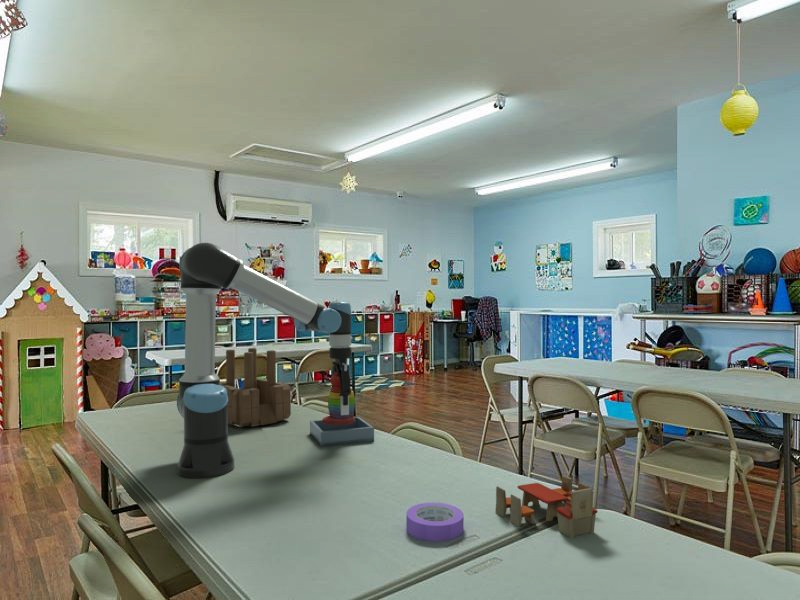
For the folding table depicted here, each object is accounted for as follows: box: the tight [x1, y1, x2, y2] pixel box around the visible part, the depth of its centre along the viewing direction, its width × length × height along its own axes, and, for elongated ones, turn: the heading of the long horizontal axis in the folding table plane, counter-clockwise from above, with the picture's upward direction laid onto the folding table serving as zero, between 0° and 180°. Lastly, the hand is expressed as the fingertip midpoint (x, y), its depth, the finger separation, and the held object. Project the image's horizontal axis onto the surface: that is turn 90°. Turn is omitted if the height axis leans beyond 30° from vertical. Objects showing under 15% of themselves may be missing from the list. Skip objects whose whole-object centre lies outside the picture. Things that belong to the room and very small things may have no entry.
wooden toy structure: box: [220, 347, 292, 428], centre depth 217 cm, size 23×30×27 cm
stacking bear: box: [321, 372, 356, 425], centre depth 185 cm, size 11×10×18 cm
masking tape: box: [405, 502, 465, 542], centre depth 110 cm, size 12×12×4 cm
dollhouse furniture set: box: [495, 474, 598, 539], centre depth 114 cm, size 19×19×10 cm
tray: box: [309, 416, 375, 447], centre depth 185 cm, size 18×18×4 cm
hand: (341, 411), depth 185 cm, fingers closed on stacking bear, 9 cm apart
